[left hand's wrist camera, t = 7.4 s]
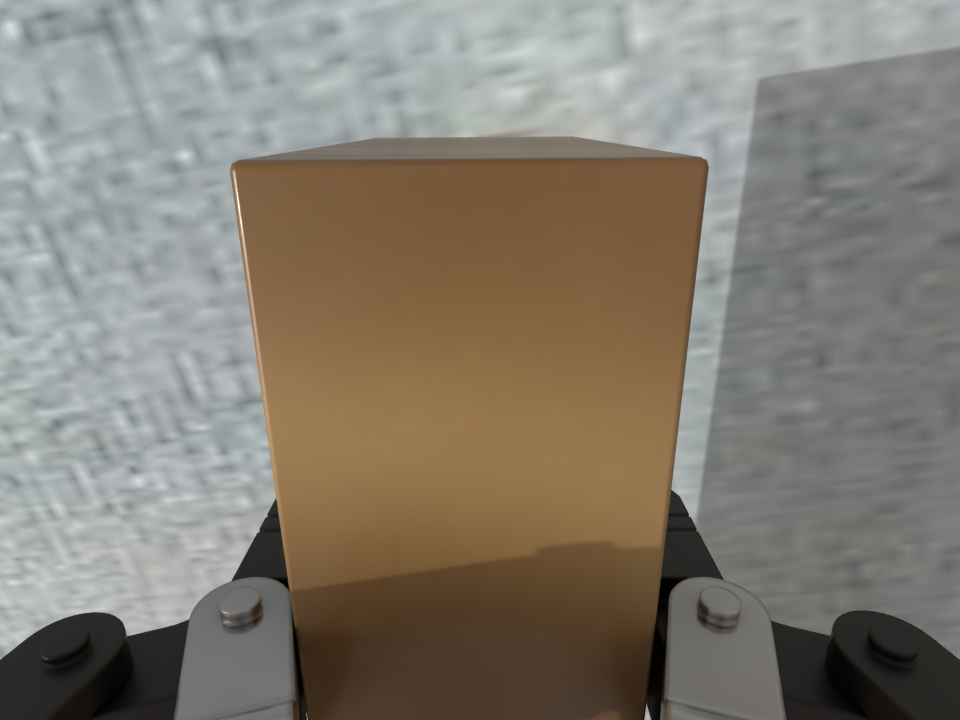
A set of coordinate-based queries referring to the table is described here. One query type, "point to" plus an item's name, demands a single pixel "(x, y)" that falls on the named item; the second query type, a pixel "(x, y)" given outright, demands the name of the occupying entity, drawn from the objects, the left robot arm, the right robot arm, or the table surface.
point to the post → (472, 414)
